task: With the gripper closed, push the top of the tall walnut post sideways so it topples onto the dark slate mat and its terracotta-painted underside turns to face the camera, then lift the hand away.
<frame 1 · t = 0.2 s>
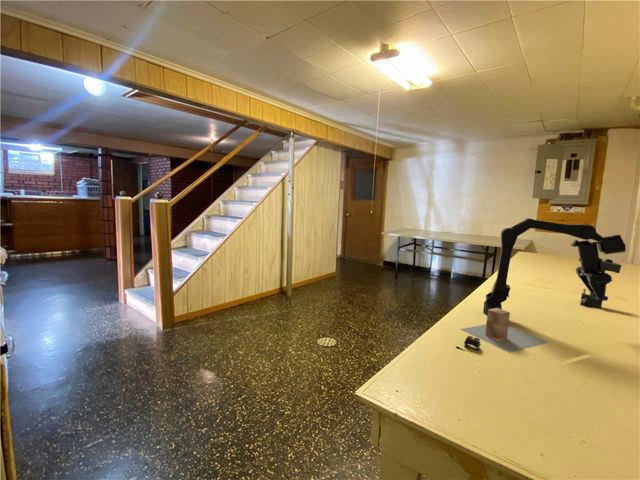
hand: (596, 295, 121), 15 cm above the table, tool pointing down, fingers open, 9 cm apart
black mounting bracket: (471, 351, 106), on the table
scope: (592, 306, 157), on the table
slate mat: (503, 337, 117), on the table
walnut post: (496, 336, 115), point 1 cm above the table, touching slate mat
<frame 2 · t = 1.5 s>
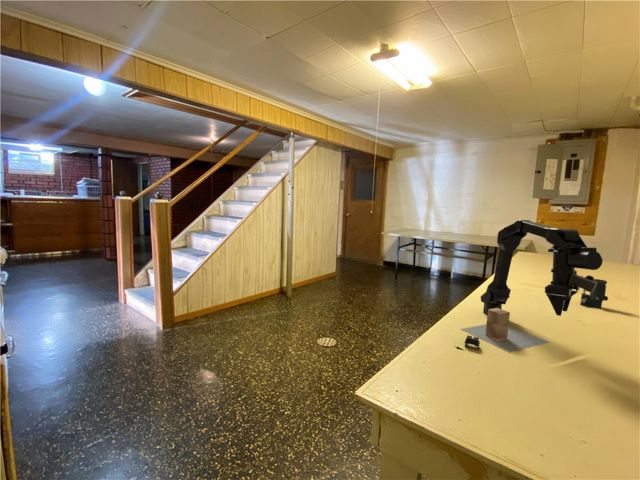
hand: (561, 313, 104), 14 cm above the table, tool pointing down, fingers open, 9 cm apart
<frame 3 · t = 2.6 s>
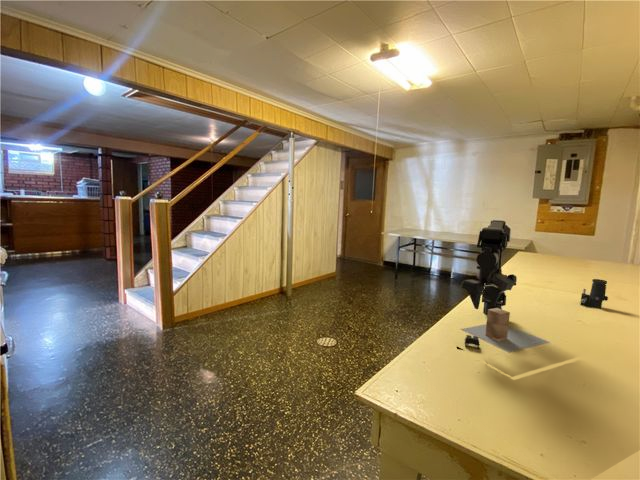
hand: (484, 307, 110), 13 cm above the table, tool pointing down, fingers open, 8 cm apart
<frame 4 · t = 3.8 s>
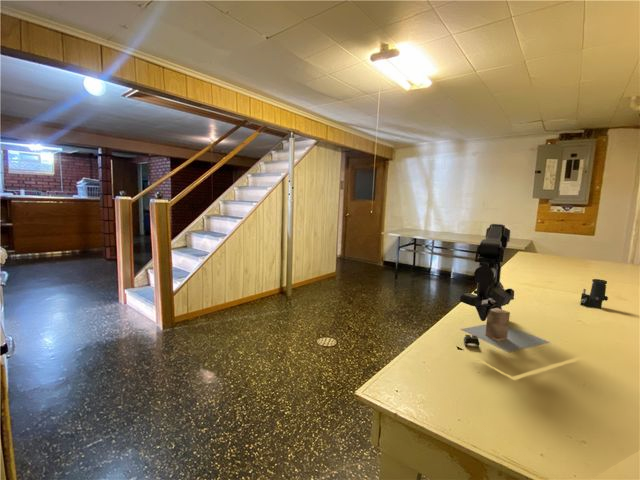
hand: (482, 320, 111), 8 cm above the table, tool pointing down, fingers closed
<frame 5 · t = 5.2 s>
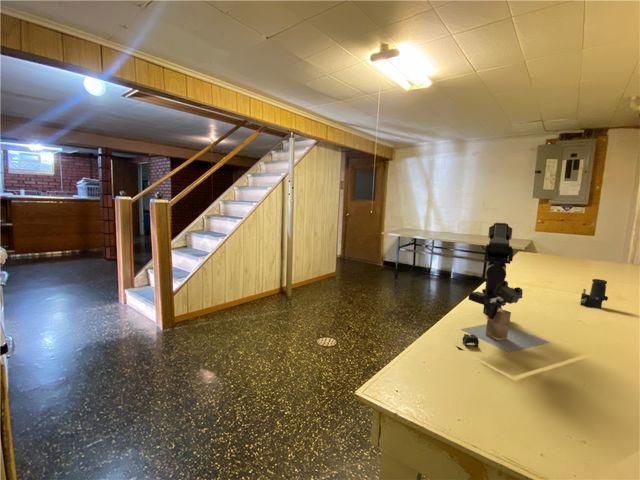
hand: (491, 319, 113), 8 cm above the table, tool pointing down, fingers closed
walnut post: (496, 336, 115), point 1 cm above the table, touching gripper, slate mat
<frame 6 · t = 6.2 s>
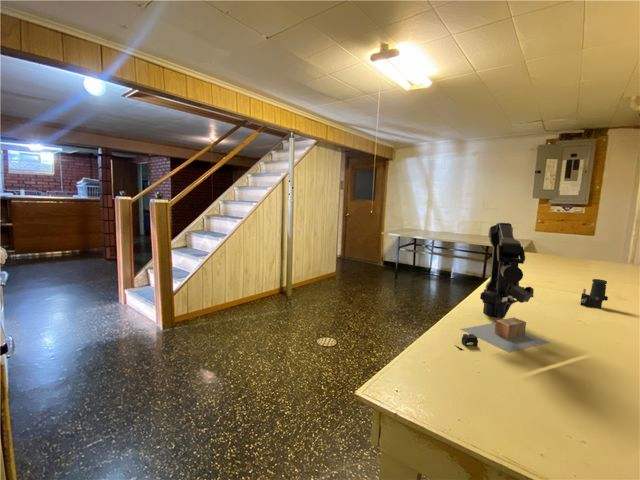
hand: (502, 317, 115), 8 cm above the table, tool pointing down, fingers closed
walnut post: (501, 329, 116), point 3 cm above the table, tilted 90°, touching slate mat
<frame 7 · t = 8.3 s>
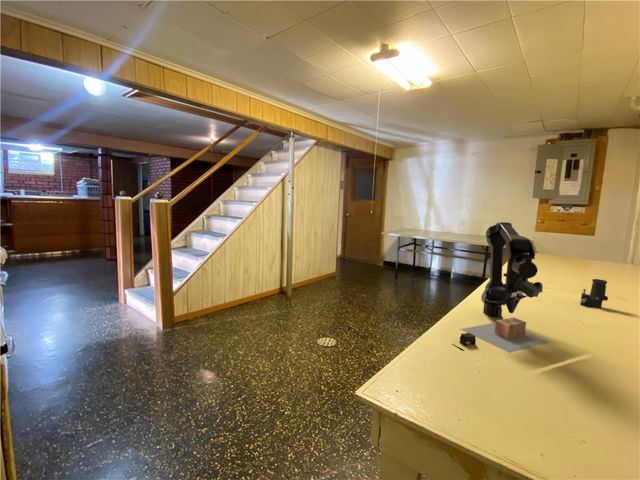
hand: (511, 312, 117), 9 cm above the table, tool pointing down, fingers closed
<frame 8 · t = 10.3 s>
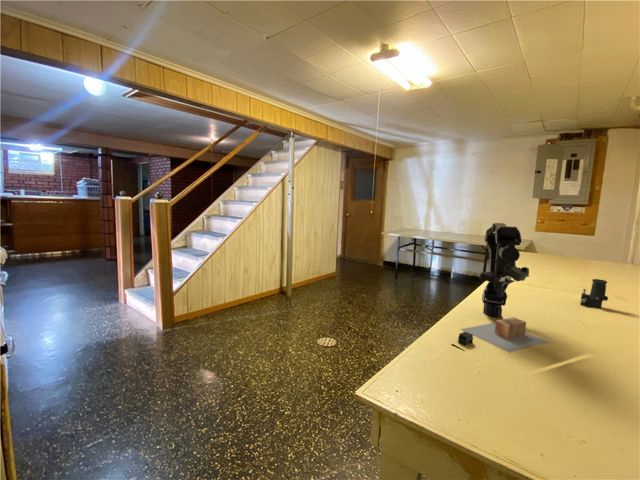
hand: (500, 296, 124), 13 cm above the table, tool pointing down, fingers closed
at the end: walnut post tilted 90°; walnut post touching slate mat; walnut post inside the target area (0.0 cm from its centre), point 3.3 cm above the table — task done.
